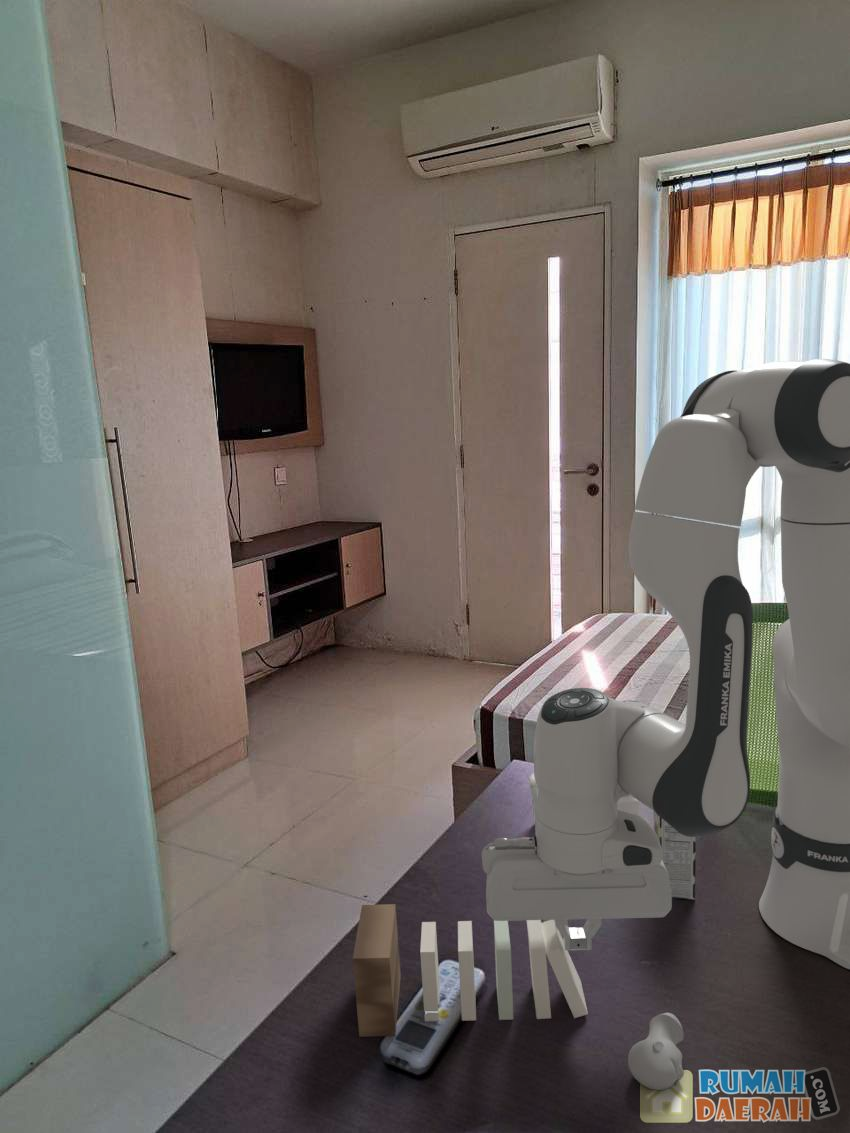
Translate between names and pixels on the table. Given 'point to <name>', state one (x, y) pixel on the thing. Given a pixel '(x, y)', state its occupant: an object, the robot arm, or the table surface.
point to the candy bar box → (677, 859)
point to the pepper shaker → (630, 805)
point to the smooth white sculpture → (658, 1054)
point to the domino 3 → (503, 970)
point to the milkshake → (533, 792)
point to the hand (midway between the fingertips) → (577, 946)
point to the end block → (377, 970)
